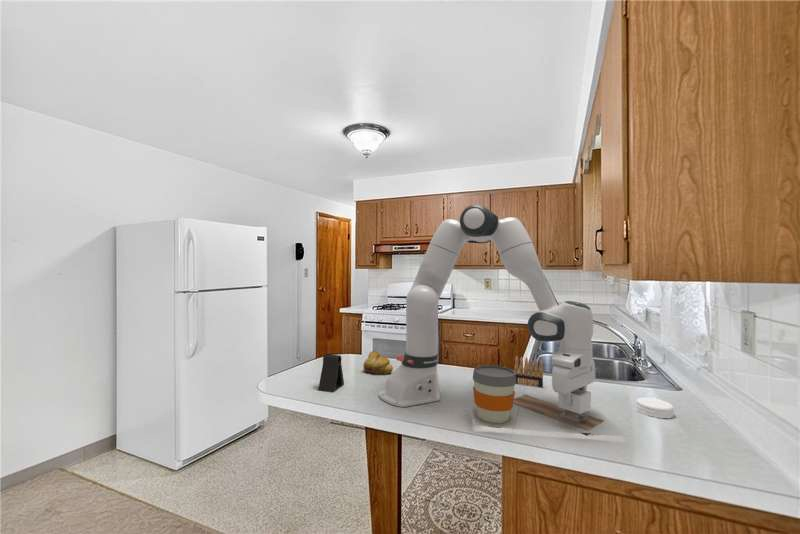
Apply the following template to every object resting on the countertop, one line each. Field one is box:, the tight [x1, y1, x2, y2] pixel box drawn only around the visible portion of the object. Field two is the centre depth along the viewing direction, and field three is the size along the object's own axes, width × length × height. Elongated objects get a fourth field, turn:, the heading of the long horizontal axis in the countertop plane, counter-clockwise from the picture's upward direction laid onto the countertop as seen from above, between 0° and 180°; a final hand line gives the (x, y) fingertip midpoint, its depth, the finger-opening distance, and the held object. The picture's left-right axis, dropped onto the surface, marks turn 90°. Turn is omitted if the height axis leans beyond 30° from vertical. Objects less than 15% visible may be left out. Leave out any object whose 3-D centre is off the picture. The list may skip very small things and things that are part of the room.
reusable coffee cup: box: [472, 364, 517, 429], centre depth 109 cm, size 13×13×15 cm
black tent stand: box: [317, 353, 345, 393], centre depth 135 cm, size 9×6×12 cm, turn 164°
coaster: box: [635, 396, 675, 419], centre depth 119 cm, size 10×10×4 cm
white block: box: [557, 387, 592, 414], centre depth 110 cm, size 7×7×6 cm
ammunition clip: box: [513, 355, 544, 389], centre depth 139 cm, size 11×2×12 cm, turn 67°
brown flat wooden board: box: [513, 392, 605, 437], centre depth 115 cm, size 11×26×8 cm, turn 39°
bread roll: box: [363, 350, 394, 375], centre depth 155 cm, size 13×10×8 cm
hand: (574, 402), depth 110 cm, fingers closed on white block, 7 cm apart
